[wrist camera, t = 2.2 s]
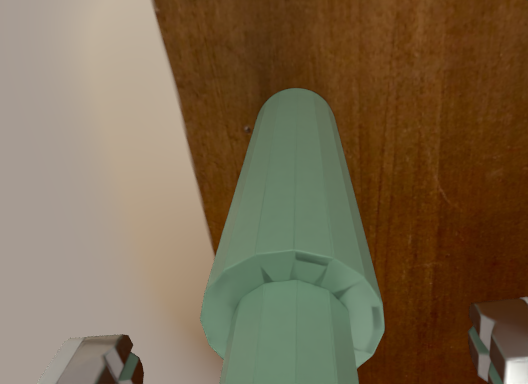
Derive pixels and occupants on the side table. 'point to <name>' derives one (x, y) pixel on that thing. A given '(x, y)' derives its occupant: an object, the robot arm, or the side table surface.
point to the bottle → (293, 257)
